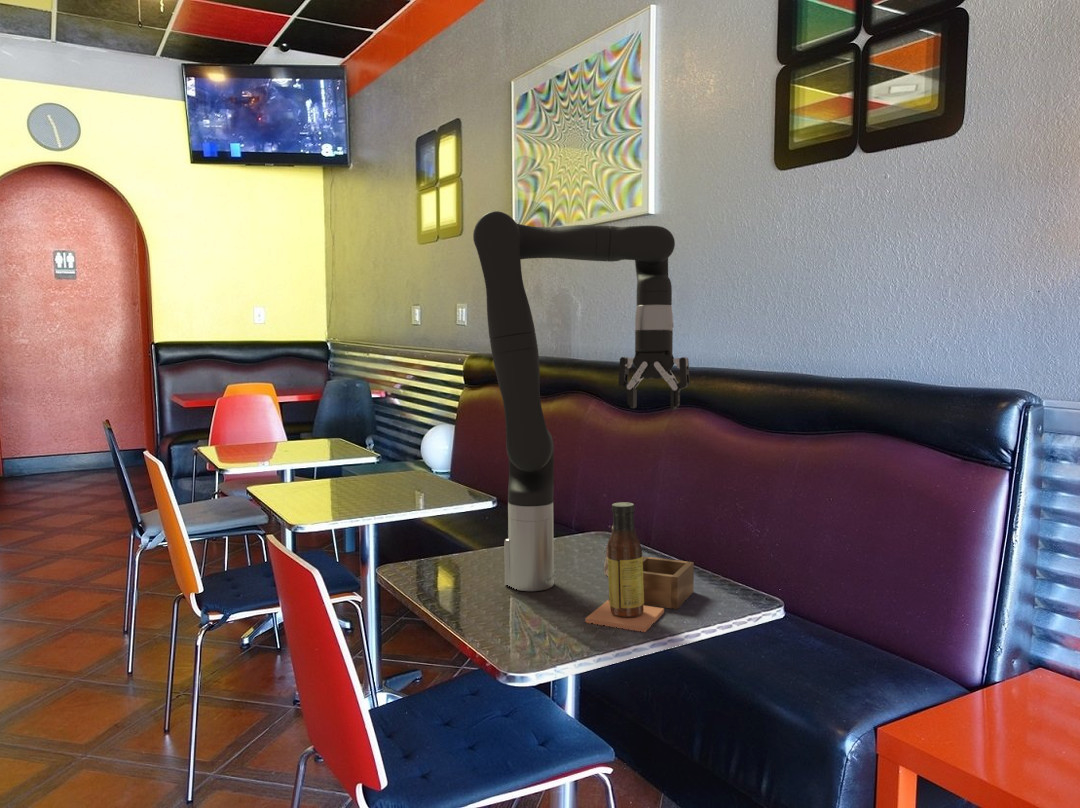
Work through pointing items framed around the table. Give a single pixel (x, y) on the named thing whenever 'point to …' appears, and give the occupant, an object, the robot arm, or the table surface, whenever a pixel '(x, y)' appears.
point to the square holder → (667, 582)
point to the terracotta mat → (625, 618)
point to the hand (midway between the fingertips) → (653, 408)
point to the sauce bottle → (625, 564)
